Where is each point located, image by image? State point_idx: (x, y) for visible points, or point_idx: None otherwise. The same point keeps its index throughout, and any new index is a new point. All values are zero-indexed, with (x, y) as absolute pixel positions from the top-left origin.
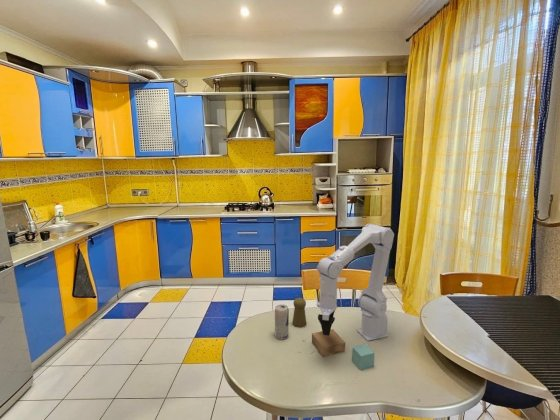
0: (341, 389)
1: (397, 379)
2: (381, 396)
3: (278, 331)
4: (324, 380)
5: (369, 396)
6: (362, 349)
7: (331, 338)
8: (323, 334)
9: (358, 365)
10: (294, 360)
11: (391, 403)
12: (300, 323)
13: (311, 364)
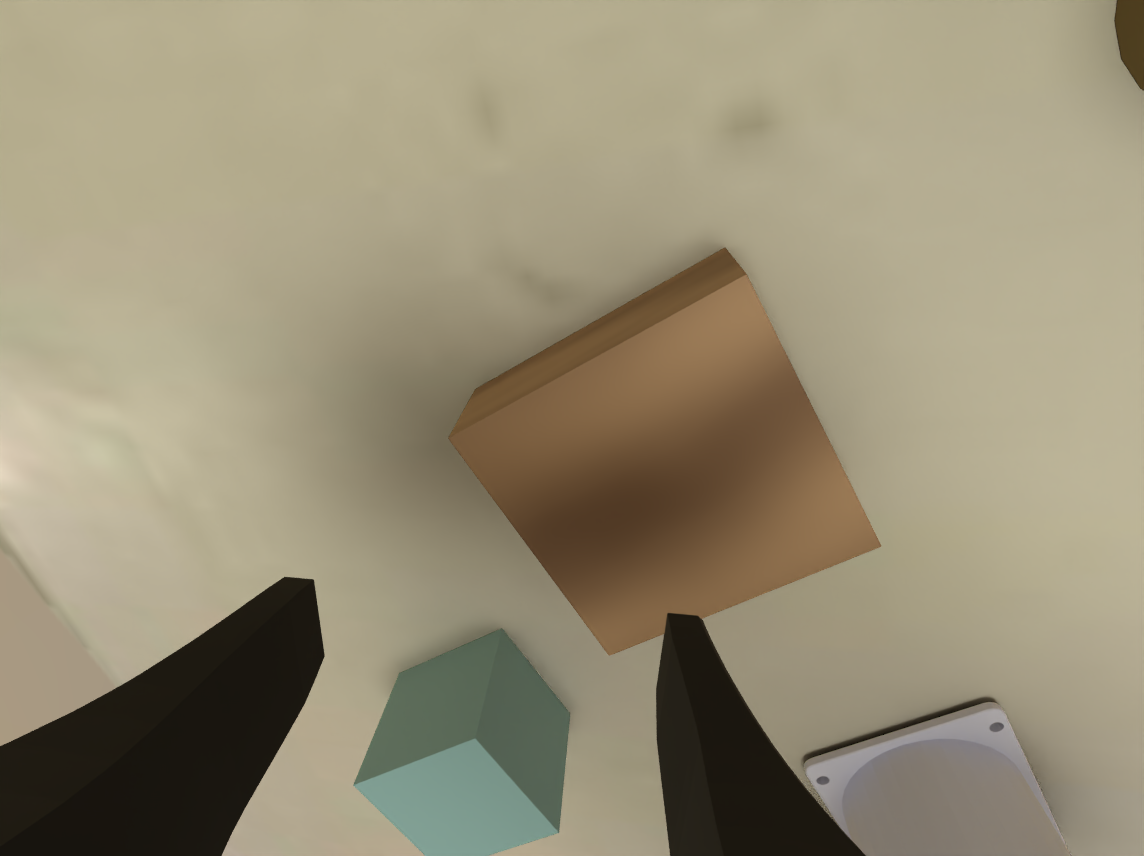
0: (130, 545)
1: (387, 843)
2: None
3: None
4: (159, 422)
5: None
6: (459, 804)
7: (658, 530)
8: (274, 585)
9: (414, 679)
10: (309, 70)
11: None
12: None
13: (317, 287)
